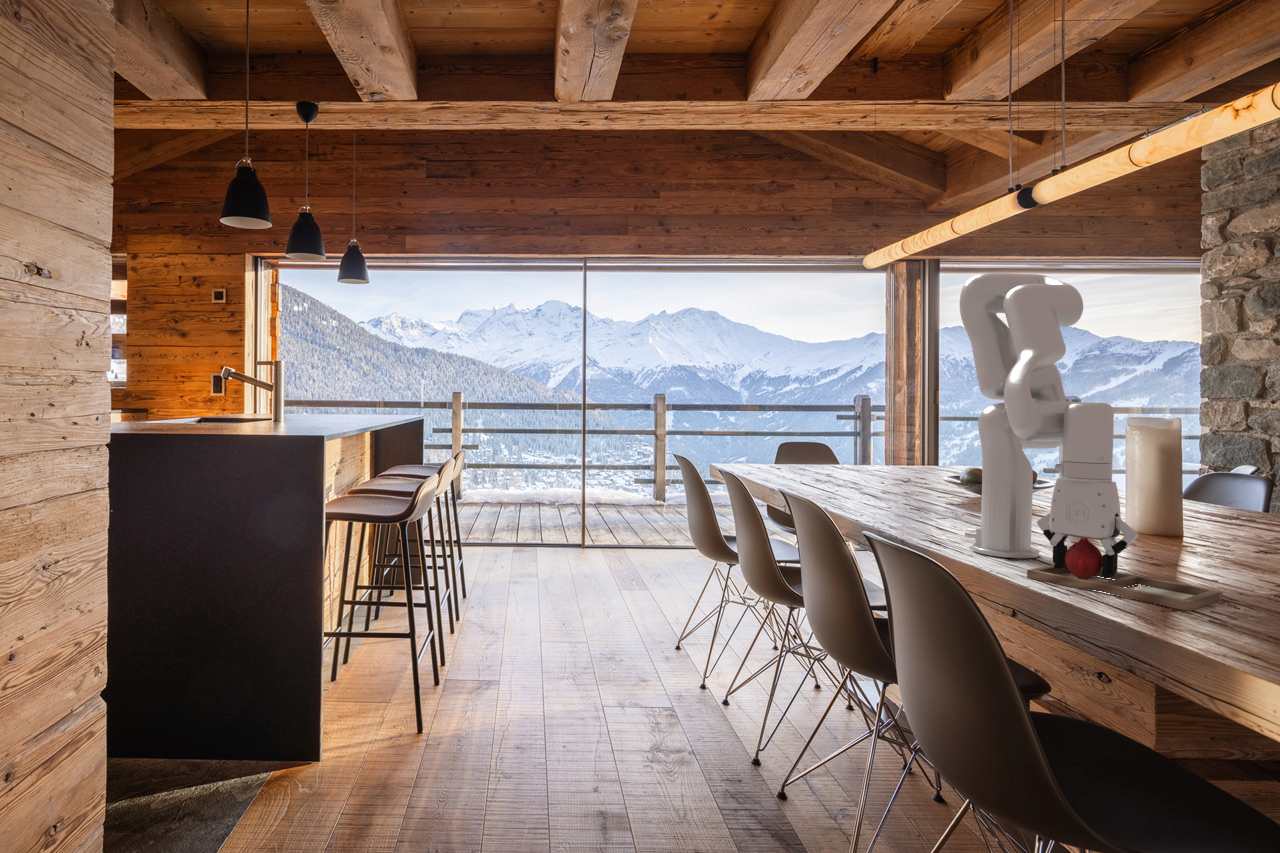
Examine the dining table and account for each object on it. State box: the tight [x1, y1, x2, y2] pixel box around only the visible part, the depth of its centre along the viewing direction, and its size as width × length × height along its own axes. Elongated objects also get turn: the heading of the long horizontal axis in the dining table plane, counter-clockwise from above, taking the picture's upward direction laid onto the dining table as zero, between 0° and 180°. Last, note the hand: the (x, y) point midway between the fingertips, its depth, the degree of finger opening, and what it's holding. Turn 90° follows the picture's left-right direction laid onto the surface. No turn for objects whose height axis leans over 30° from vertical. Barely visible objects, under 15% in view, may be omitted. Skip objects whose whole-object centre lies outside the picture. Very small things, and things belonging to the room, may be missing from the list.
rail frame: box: [1026, 564, 1224, 612], centre depth 123 cm, size 25×13×1 cm, turn 33°
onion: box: [1065, 537, 1103, 581], centre depth 128 cm, size 6×6×8 cm
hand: (1083, 571), depth 128 cm, fingers open, 7 cm apart
